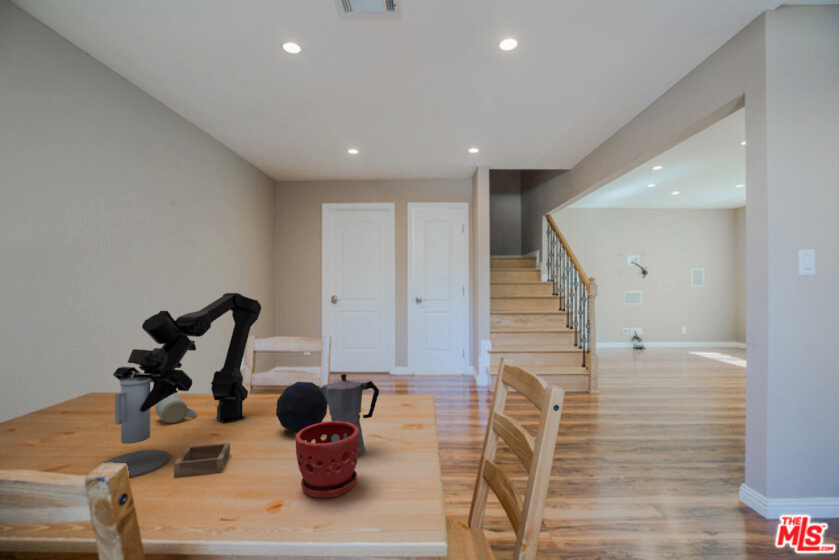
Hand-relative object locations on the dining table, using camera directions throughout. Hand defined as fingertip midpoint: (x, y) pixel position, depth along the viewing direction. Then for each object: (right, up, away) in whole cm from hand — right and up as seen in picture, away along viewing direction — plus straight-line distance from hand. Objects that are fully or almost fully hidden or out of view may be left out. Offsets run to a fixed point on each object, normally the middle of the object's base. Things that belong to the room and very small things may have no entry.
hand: (130, 410), depth 92 cm
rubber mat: (0, -13, +1) cm, 13 cm away
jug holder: (+16, -13, +1) cm, 21 cm away
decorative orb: (+33, -14, +24) cm, 43 cm away
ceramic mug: (-10, -14, +33) cm, 37 cm away
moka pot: (+49, -14, +9) cm, 52 cm away
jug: (0, -7, +1) cm, 7 cm away
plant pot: (+48, -14, -9) cm, 51 cm away
